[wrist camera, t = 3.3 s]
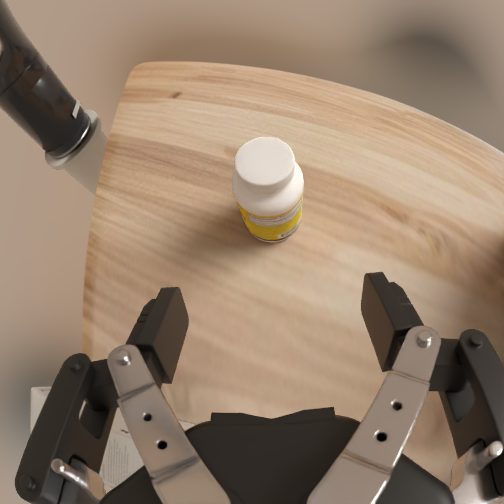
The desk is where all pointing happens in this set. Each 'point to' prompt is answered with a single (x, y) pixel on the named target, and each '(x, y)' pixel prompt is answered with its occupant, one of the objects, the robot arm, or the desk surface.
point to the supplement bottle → (268, 188)
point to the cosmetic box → (118, 446)
